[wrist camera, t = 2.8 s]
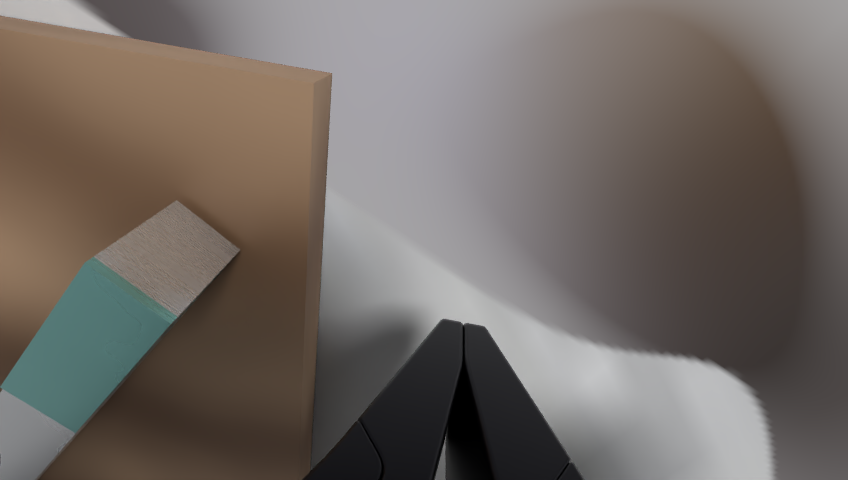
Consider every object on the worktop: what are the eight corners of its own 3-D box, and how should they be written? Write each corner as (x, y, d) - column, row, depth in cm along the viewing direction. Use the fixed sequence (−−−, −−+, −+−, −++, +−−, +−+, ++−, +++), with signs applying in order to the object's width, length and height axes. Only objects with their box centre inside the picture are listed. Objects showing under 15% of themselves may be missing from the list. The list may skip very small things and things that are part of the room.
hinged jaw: (14, 506, 16) (-66, 593, 14) (-33, 481, 15) (-123, 567, 13) (240, 249, 10) (170, 323, 8) (177, 200, 10) (84, 262, 8)
